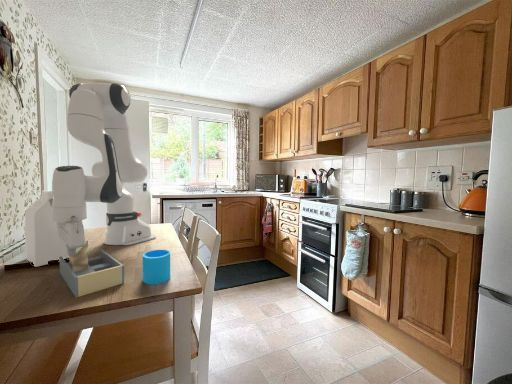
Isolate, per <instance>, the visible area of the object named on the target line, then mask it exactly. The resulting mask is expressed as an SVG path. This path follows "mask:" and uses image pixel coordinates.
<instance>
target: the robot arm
mask: <svg viewBox="0 0 512 384" xmlns="http://www.w3.org/2000/svg"><path fill="white" fill-rule="evenodd" d="M68 96H69V102H68V105H67V106H68V107H67V113H66V115H67V117H66V128H67V131H68V132H69V134H70V136H72V137H73V138H74V139H75V140H77V141H78V142H80V143H83V144H85V145H87V146H89V147H92V148H94V149H97V150H98V151H99V152H100V154H101V157H102V159H101V160H100V161H96V162H94V164H93V165H92V168H91V175H86V174H85V172H84V168H83V167H82V166H78V165H62V166H58V167H55V168H54V169H53V173H52V182H51V191H52V194H53V198H54V203H53V221H55V222H57V228H58V233H59V236H60V238H61V239H62V240H63V241H64V242H65V243H66V247H67V254H68V255H69V256H73V255H77V249H78V248H83V247H85V244H86V241H85V238H86V237H85V227H84V224H83V220H84V221H85V220H86V219H87V218H88V217H87V212H88V211H87V203H102V204H103V203H105V204H106V209H107V210H106V214H105V215H106V216H105V223H106V233H105V238H104V242H103V244H104V245H108V246H130V245H131V246H132V245H134V244H139V243H143V242H147V241H150V240H154V239H156V238H157V236H156V234H154V233H152V231H151V227H150V226H149V224H147V223H145V222H144V221H143V220H142V219H140V217H141V216H142V213H141V212H140V211H138V212H137V211H135V208H134V207H135V205H134V204H135V201H134V195H133V194H132V193H131V192H130V191H128V190H127V189H126V186H125V184H137V183H142V182H144V181H146V178H147V176H148V168H147V166H146V165H145V163H144V162H142V161H141V160H140V159H139V158H138V157H137V156H136V153H135V152H134V150H133V147H132V144H131V138H130V137H131V135H130V129H129V128H130V127H129V121H128V117H127V113H126V112H127V111H128V109H129V107H130V105H131V96H130V92H129V90H128V89H127V88H126V87H125V86H124V85H123V84H119V83H114V82H113V83H111V82H110V83H109V82H89V83H87V82H86V83H80V82H79V83H75V84H73V85H71V87H70V89H69V91H68ZM138 217H139V218H138Z"/></svg>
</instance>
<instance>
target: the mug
mask: <svg viewBox="0 0 512 384" xmlns="http://www.w3.org/2000/svg"><path fill="white" fill-rule="evenodd" d="M170 279H171V251H170V250H168V249H153V250H148V251H146V252H144V253H143V254H142V282H143V283H145V284H146V285H158V284H162V283H165V282H168V281H169V280H170Z"/></svg>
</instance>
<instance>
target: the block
mask: <svg viewBox="0 0 512 384" xmlns="http://www.w3.org/2000/svg"><path fill="white" fill-rule="evenodd" d="M88 258H89V256H88V255H87V254H86V253H85V252H84V253H79V254H76V255H73V256H69V259H68V260H69V261H68V262H69V265H70V268H71V269H72V270H73V272H76V271H81V270H85V269H88Z"/></svg>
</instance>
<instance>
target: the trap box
mask: <svg viewBox="0 0 512 384" xmlns="http://www.w3.org/2000/svg"><path fill="white" fill-rule="evenodd" d="M58 262H59V274H60V275H61V277H62V278H63V280H64V282H65V283H66V285H67V287H68V288H69V290H70V291H71V292H72V294H73V296H74V297H75V298H79V297H82V296H86V295H89V294H92V293H95V292H100V291H102V290H105V289H106V290H107V289H109V288H112V287H116V286H119V285H122V284H124V283H125V265H124V264H123V263H121V262H120V261H118V260H117V259H116V258H114V256H112V255H111V254H109V253H108V252H106V251H105V250H104V249H103V248H99V255H98V256H92V257H88V269H85V270H81V271H76V272H73V270H72V269H71V268H70V265H69V261H68V262H67V261H66V260H64V259H63V258H62V256H61V257H59V261H58Z"/></svg>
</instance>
